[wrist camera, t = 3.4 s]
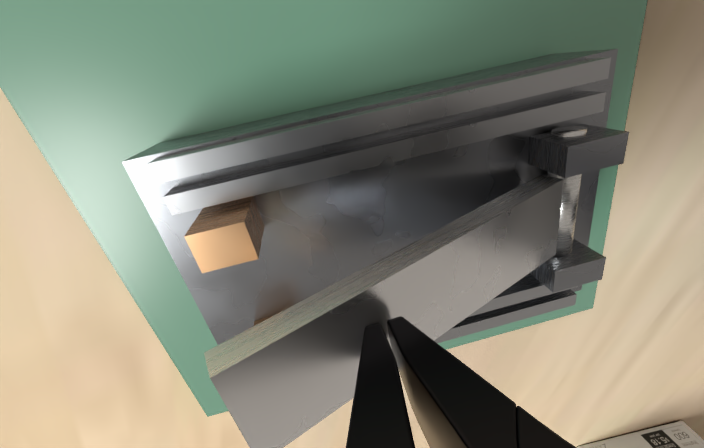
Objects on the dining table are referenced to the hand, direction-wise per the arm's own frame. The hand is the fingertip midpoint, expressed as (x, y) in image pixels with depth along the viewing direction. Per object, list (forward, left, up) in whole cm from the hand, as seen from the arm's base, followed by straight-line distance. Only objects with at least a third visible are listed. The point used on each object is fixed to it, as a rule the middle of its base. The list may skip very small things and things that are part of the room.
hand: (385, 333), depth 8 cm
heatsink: (0, -2, -8) cm, 8 cm away
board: (0, -2, -8) cm, 8 cm away
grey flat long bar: (0, -2, -2) cm, 2 cm away
